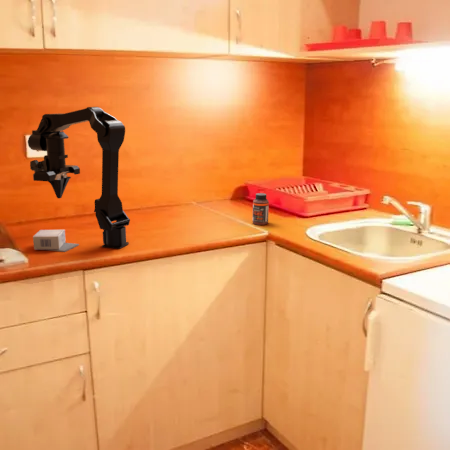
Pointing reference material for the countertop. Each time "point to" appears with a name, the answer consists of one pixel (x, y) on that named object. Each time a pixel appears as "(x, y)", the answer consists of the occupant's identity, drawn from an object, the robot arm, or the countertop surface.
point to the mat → (66, 247)
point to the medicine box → (49, 239)
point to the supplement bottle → (260, 209)
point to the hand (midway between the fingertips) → (59, 198)
